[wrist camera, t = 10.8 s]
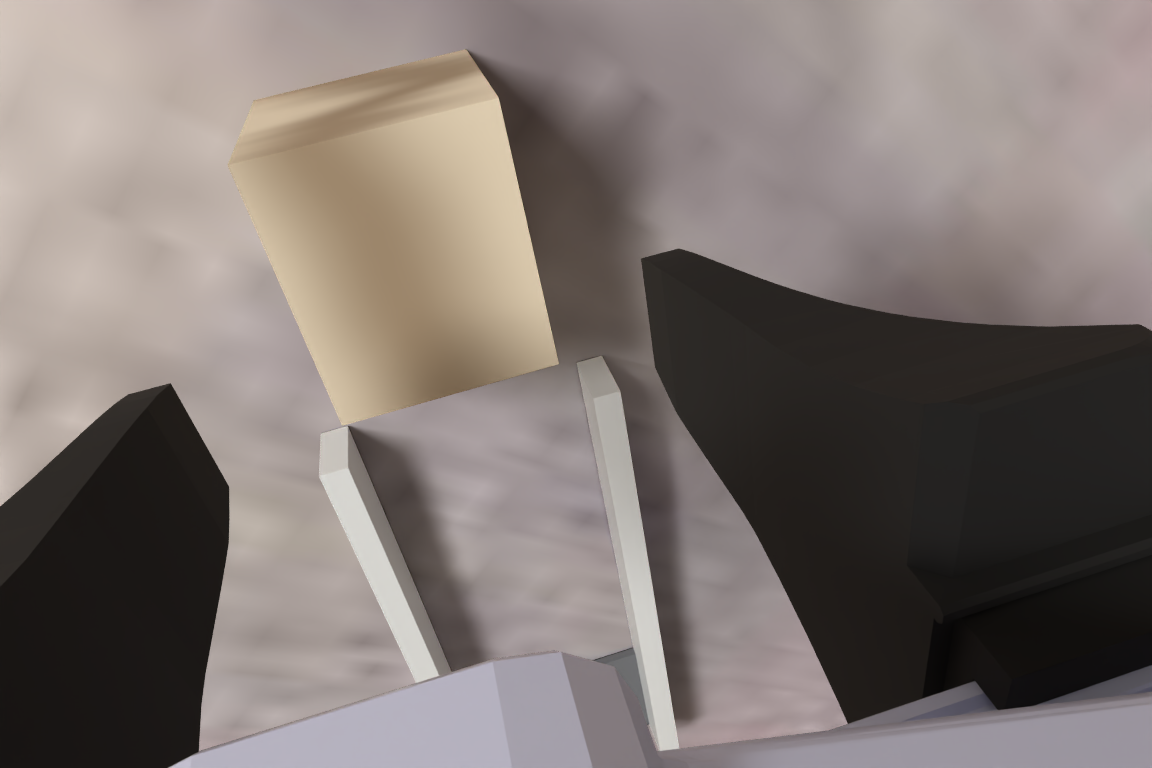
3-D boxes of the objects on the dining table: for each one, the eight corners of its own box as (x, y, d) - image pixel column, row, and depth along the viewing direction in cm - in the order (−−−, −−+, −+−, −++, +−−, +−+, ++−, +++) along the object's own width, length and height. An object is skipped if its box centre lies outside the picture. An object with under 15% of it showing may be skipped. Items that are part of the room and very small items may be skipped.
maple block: (465, 48, 19) (498, 97, 15) (520, 273, 22) (558, 364, 18) (254, 99, 18) (227, 165, 14) (343, 321, 22) (342, 425, 18)
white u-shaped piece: (602, 355, 24) (620, 391, 22) (664, 712, 35) (679, 753, 33) (320, 433, 23) (318, 476, 22) (474, 774, 34) (480, 820, 32)
